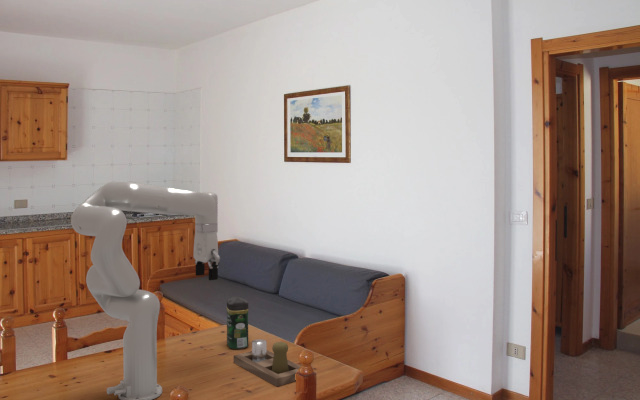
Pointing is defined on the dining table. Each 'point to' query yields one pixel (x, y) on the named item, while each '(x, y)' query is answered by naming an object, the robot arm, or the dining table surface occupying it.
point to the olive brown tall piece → (280, 357)
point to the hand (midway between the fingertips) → (206, 277)
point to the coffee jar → (237, 323)
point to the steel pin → (259, 350)
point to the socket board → (266, 368)
